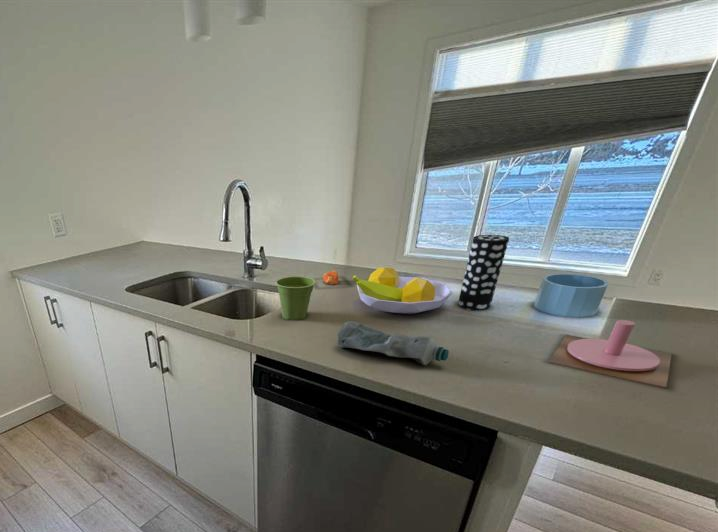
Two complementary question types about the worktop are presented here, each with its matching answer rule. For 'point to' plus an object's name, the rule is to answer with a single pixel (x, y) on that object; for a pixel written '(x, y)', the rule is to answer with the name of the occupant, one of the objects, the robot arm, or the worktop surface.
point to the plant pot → (295, 296)
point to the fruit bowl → (401, 292)
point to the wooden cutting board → (648, 377)
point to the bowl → (570, 295)
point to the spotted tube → (482, 271)
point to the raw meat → (331, 278)
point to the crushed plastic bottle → (390, 343)
